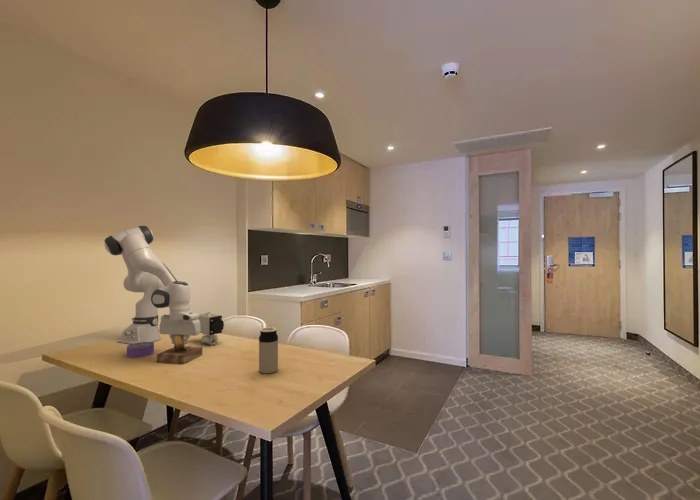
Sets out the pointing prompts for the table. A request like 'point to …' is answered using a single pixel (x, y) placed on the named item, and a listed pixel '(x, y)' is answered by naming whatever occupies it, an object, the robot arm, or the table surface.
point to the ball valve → (210, 327)
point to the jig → (179, 355)
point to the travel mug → (268, 350)
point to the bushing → (178, 342)
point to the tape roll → (140, 349)
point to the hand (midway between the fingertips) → (179, 343)
